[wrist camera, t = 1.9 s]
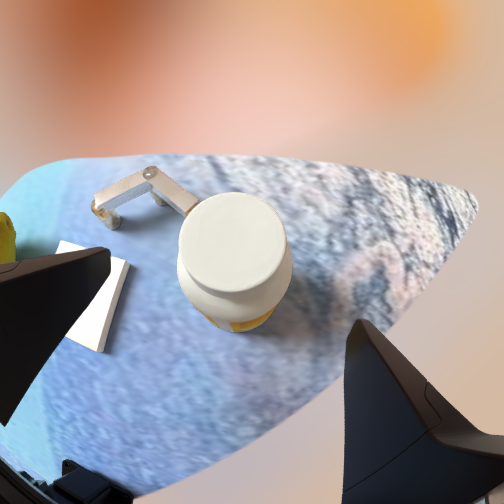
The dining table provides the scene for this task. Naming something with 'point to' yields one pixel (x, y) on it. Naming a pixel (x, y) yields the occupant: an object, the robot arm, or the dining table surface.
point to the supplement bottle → (234, 260)
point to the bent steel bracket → (136, 185)
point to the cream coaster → (98, 305)
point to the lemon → (7, 239)
